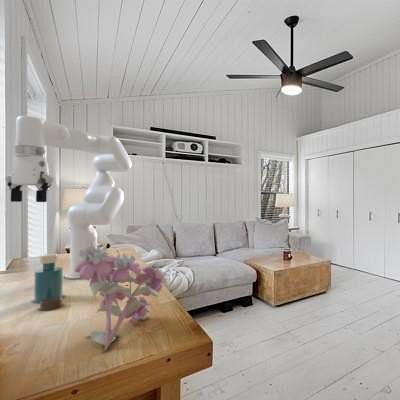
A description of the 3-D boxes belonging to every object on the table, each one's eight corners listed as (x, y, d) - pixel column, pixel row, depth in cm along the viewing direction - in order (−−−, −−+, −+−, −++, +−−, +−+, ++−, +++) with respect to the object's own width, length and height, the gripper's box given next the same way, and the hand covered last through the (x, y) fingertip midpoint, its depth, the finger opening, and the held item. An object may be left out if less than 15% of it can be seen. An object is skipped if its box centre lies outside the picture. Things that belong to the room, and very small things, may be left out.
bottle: (50, 294, 103) (50, 252, 103) (67, 296, 102) (68, 253, 102) (28, 302, 96) (28, 256, 96) (47, 303, 95) (47, 257, 94)
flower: (188, 330, 74) (179, 236, 83) (78, 355, 57) (82, 235, 66) (156, 341, 85) (151, 258, 94) (57, 364, 69) (62, 261, 78)
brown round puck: (52, 303, 94) (52, 296, 94) (66, 304, 94) (66, 297, 94) (35, 309, 89) (35, 301, 89) (50, 311, 89) (50, 303, 88)
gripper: (62, 154, 105) (61, 202, 104) (19, 154, 106) (18, 201, 106) (41, 150, 97) (40, 202, 97) (-4, 150, 99) (-6, 201, 99)
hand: (28, 201), depth 101 cm, fingers open, 9 cm apart
